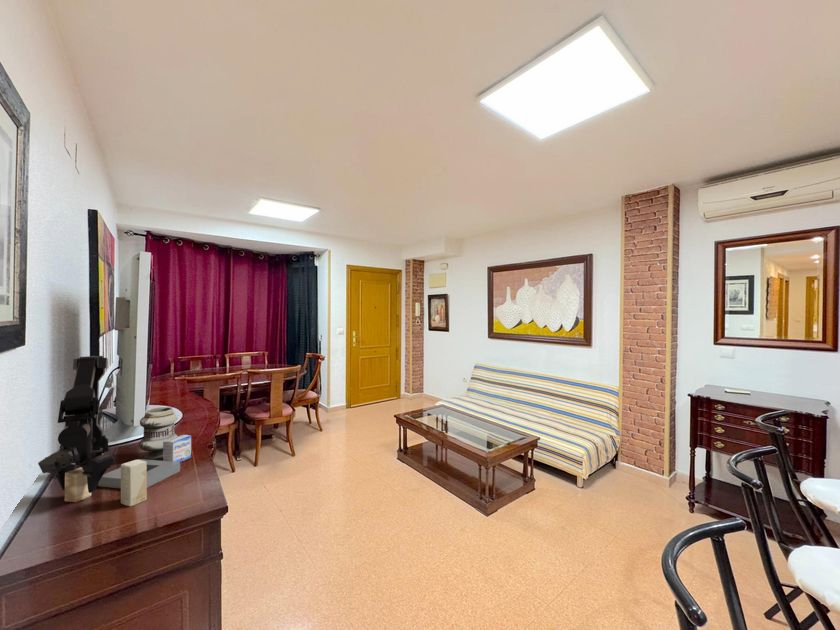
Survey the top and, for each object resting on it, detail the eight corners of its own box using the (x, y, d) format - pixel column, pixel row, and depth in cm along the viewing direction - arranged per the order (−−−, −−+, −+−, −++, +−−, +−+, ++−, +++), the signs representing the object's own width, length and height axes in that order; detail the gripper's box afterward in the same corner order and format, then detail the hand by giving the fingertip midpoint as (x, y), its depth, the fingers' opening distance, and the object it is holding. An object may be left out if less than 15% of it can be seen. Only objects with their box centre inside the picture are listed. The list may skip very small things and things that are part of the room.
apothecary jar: (138, 465, 125) (139, 415, 126) (138, 455, 135) (139, 408, 135) (179, 457, 133) (180, 409, 133) (176, 448, 142) (177, 404, 143)
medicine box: (172, 466, 125) (173, 442, 125) (162, 465, 126) (162, 441, 126) (191, 457, 132) (191, 435, 133) (181, 457, 133) (181, 434, 133)
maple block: (64, 501, 101) (65, 473, 101) (80, 494, 105) (80, 467, 105) (75, 502, 100) (76, 474, 100) (91, 495, 104) (91, 468, 104)
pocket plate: (98, 486, 110) (98, 476, 110) (140, 467, 123) (140, 459, 124) (141, 490, 107) (141, 480, 107) (180, 471, 121) (180, 462, 121)
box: (147, 500, 101) (147, 461, 101) (129, 507, 97) (130, 467, 98) (137, 496, 103) (137, 458, 104) (119, 503, 100) (120, 464, 100)
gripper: (18, 445, 96) (17, 502, 96) (73, 449, 93) (72, 508, 93) (65, 432, 107) (64, 483, 107) (116, 435, 104) (115, 488, 104)
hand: (78, 491), depth 102 cm, fingers open, 9 cm apart
